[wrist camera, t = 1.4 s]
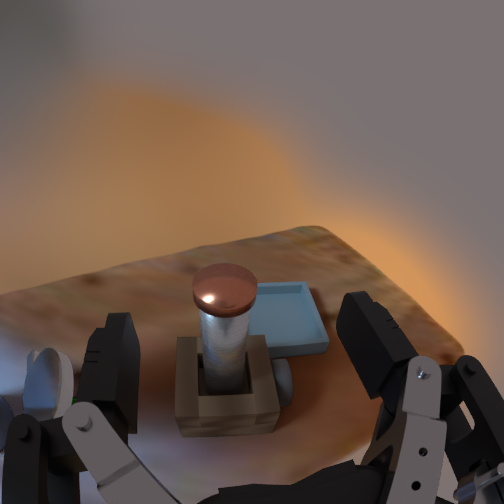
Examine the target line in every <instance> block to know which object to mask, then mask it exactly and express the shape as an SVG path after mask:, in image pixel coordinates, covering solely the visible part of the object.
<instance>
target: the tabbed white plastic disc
mask: <svg viewBox="0 0 504 504" xmlns="http://www.w3.org/2000/svg"><path fill="white" fill-rule="evenodd" d="M73 388H74V377H73V369H72V365H71V362H70V360H69V358H68V357H67V356H66V355H65V354H63V353H61V352H59V351H57V350H55V349H53V348H45V349H44V350H42V351H41V352H40V353H38V352H36V351H34V350H32V351H31V352H30V354H29V355H28V356H27V375H26V380H25V385H24V392H23V395H22V401H23V412H24V414H28V415H31V416H33V417H34V418H35V419H36V420H37V421H38V422H40V421H44V420H49V419H54V418H58V417H61V416H63V415H64V413H65V411H66V410H67V409H68V408H69V407H70V406H71V405H73V404H75V401H76V398H75V397H73Z"/></svg>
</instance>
